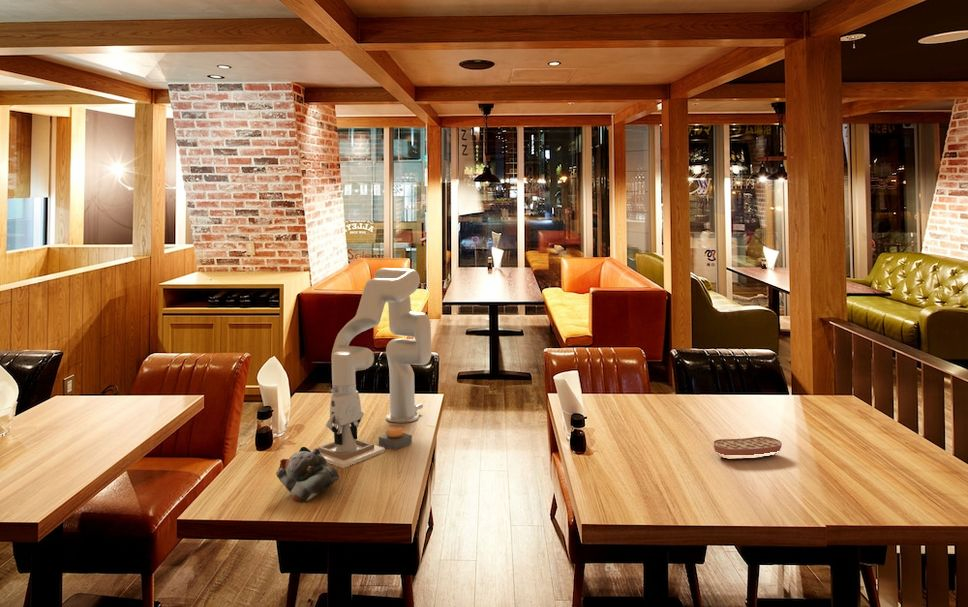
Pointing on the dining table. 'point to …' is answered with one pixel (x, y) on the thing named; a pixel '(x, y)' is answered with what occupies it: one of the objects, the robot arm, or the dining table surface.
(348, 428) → the flask
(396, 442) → the button base
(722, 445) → the brown flat oval piece
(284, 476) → the lucky cat figurine
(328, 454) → the tray
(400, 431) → the button
